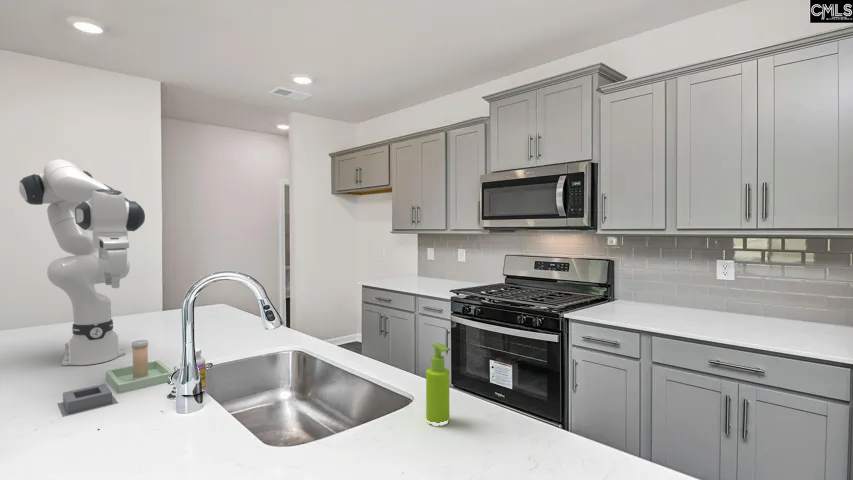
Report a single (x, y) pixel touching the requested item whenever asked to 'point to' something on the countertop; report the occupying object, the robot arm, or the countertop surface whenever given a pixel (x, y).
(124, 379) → the parts tray
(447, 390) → the soap dispenser
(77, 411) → the socket block
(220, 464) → the countertop surface
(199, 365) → the supplement bottle
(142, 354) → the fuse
